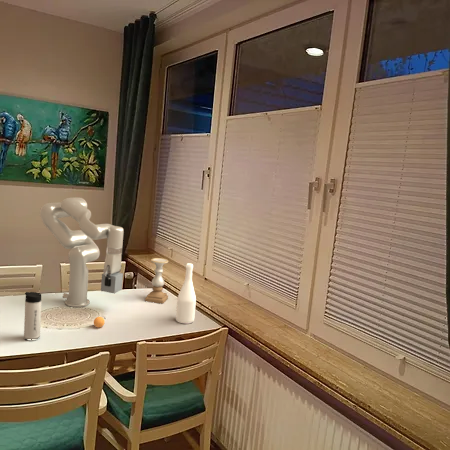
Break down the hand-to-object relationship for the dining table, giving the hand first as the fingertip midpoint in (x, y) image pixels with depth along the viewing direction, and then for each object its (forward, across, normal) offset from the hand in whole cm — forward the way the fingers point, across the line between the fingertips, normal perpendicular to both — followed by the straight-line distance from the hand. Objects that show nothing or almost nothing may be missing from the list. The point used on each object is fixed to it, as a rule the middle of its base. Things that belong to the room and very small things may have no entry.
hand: (111, 283), depth 223 cm
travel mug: (+16, +44, -12) cm, 48 cm away
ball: (+13, +20, +6) cm, 24 cm away
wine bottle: (+15, -8, +39) cm, 42 cm away
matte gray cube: (+3, 0, 0) cm, 3 cm away
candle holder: (+16, -32, +13) cm, 38 cm away
